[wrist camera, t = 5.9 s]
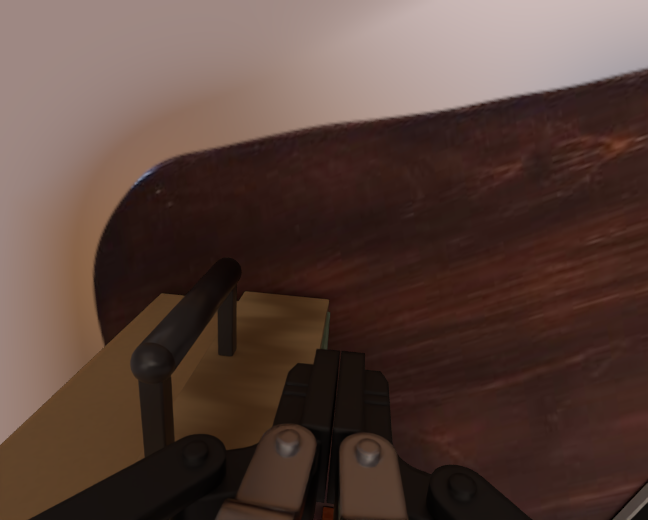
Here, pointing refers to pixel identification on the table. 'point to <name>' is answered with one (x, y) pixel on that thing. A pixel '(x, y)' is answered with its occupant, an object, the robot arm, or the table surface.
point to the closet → (90, 421)
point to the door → (224, 361)
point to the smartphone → (636, 507)
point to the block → (327, 513)
